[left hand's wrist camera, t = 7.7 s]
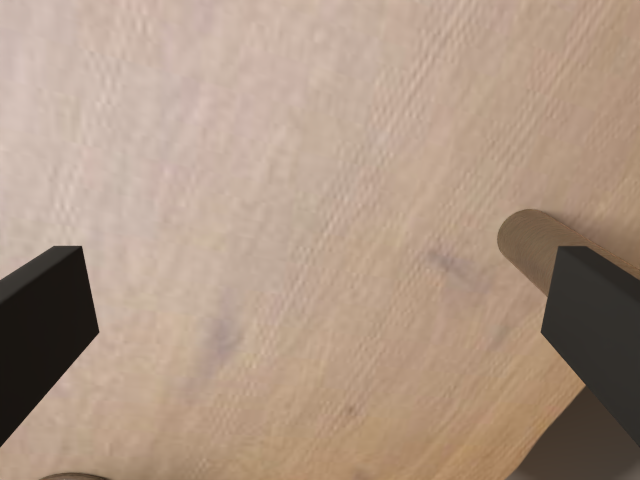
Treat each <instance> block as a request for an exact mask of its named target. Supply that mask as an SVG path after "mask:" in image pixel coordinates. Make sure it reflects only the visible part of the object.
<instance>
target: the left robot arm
mask: <svg viewBox="0 0 640 480" xmlns="http://www.w3.org/2000/svg"><path fill="white" fill-rule="evenodd" d="M98 333H99V328H98V323H97V318H96V313H95V308H94V304H93V299H92V294H91V289H90V284H89V279H88V274H87V269H86V264H85V259H84V254H83V249H82V246H53V247H52V248H50V249H48V250H47V251H45V252H44V253H42V254H41V255H39V256H37V257H36V258H34V259H33V260H31V261H30V262H28V263H27V264H25V265H23V266H22V267H20V268H19V269H17V270H16V271H14V272H12V273H11V274H9V275H8V276H6V277H5V278H3V279H1V280H0V447H1V446H2V445H3V444H4V442H5V441H6V440H7V439H8V438H9V437H10V436H11V434H12V433H13V432H14V431H15V430H16V429H17V427H18V426H19V425H20V424H21V423H22V422H23V420H24V419H25V418H26V417H27V416H28V415H29V413H30V412H31V411H32V410H33V409H34V408H35V406H36V405H37V404H38V403H39V402H40V401H41V400H42V398H43V397H44V396H45V395H46V394H47V393H48V391H49V390H50V389H51V388H52V387H53V386H54V384H55V383H56V382H57V381H58V380H59V379H60V377H61V376H62V375H63V374H64V373H65V372H66V371H67V369H68V368H69V367H70V366H71V365H72V364H73V362H74V361H75V360H76V359H77V358H78V357H79V355H80V354H81V353H82V352H83V351H84V350H85V348H86V347H87V346H88V345H89V344H90V343H91V341H92V340H93V339H94V338H95V337H96V336H97V335H98ZM541 333H542V335H543V336H544V337H545V338H546V339H547V340H548V341H549V343H550V344H551V345H552V346H553V347H554V348H555V350H556V351H557V352H558V353H559V354H560V355H561V357H562V358H563V359H564V360H565V361H566V362H567V364H568V365H569V366H570V367H571V368H572V369H573V371H574V372H575V373H576V374H577V375H578V376H579V377H580V379H581V380H582V381H583V382H584V383H585V384H586V386H587V387H588V388H589V389H590V390H591V391H592V393H593V394H594V395H595V396H596V397H597V398H598V400H599V401H600V402H601V403H602V404H603V405H604V406H605V408H606V409H607V410H608V411H609V412H610V413H611V415H612V416H613V417H614V418H615V419H616V420H617V422H618V423H619V424H620V425H621V426H622V427H623V429H624V430H625V431H626V432H627V433H628V434H629V435H630V437H631V438H632V439H633V440H634V441H635V442H636V444H637V445H638V446H639V447H640V280H639V279H637V278H635V277H634V276H632V275H631V274H629V273H628V272H626V271H624V270H623V269H621V268H620V267H618V266H617V265H615V264H613V263H612V262H610V261H609V260H607V259H606V258H604V257H603V256H601V255H599V254H598V253H596V252H595V251H593V250H592V249H590V248H588V247H587V246H558V249H557V254H556V259H555V264H554V269H553V274H552V279H551V284H550V289H549V294H548V299H547V304H546V308H545V313H544V318H543V323H542V328H541ZM40 480H105V479H102V478H99V477H96V476H91V475H87V474H79V473H62V474H55V475H51V476H47V477H44V478H42V479H40Z"/></svg>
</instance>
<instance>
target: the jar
mask: <svg viewBox="0 0 640 480" xmlns="http://www.w3.org/2000/svg"><path fill="white" fill-rule="evenodd" d="M497 240H498V247H499V249H500V251H501V253H502V254H503V255H504V256H505V257H506V258H507V259H508V260H509V261H510V262H511V263H512V264H513V265H514V266H515V267H516V268H518V269H519V270H520V271H521V272H522V273H523V274H524V275H525V276H526V277H527V278H528V279H529V280H530V281H531V282H532V283H533V284H534V285H535V286H536V287H537V288H538V289H540V290H541V291H542V292H543V293H544V294H545V295H546V296H547V297H548V294H549V289H550V284H551V279H552V274H553V269H554V264H555V259H556V254H557V249H558V246H587V247H588V248H590V249H592V250H593V251H595V252H596V253H598V254H599V255H601V256H603V257H604V258H606V259H607V260H609V261H610V262H612V263H613V264H615V265H617V266H618V267H620V268H621V269H623V270H624V271H626V272H628V273H629V274H631V275H632V276H634V277H635V278H637V279H639V280H640V270H639V269H637V268H635V267H634V266H632V265H630V264H629V263H627V262H625V261H624V260H622V259H620V258H618V257H617V256H615V255H613V254H612V253H610V252H608V251H607V250H605V249H603V248H602V247H600V246H598V245H597V244H595V243H593V242H592V241H590V240H588V239H587V238H585V237H583V236H582V235H580V234H578V233H577V232H575V231H573V230H572V229H570V228H568V227H567V226H565V225H563V224H562V223H560V222H558V221H557V220H555V219H553V218H551V217H550V216H548V215H546V214H545V213H543V212H541V211H538V210H533V209H527V210H522V211H519V212H516V213H515V214H513V215H511V216H510V217H509V218H508V219H506V221H505V222H504V223H503V224H502V226H501V228H500V230H499V233H498V239H497Z"/></svg>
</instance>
